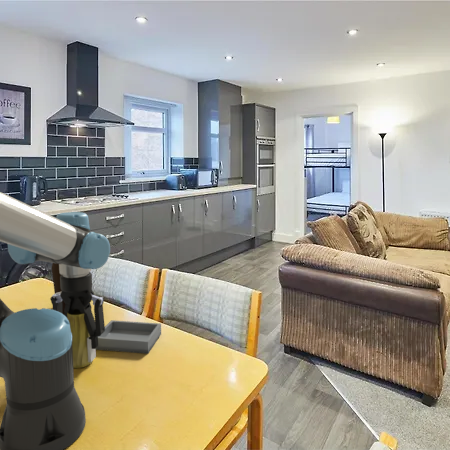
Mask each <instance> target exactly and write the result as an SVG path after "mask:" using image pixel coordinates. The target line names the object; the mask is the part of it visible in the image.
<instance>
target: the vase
mask: <svg viewBox="0 0 450 450" xmlns="http://www.w3.org/2000/svg"><path fill="white" fill-rule="evenodd" d="M67 319H68V321H69V323H70V329H71V333H72V350H73V369H82V368H85V367H87V366H89V365H91V364H92V363H93V361H94V360H93V361H92V362H88V347H87V338H88V337H89V336H90V335H89V332H88V329H87V326H86V323H85V321H84V314H81V313H80V310H78V309H74V312H73V314H72V315H71V314H69V313H67Z"/></svg>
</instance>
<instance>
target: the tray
mask: <svg viewBox="0 0 450 450" xmlns="http://www.w3.org/2000/svg"><path fill="white" fill-rule="evenodd" d="M161 336H162V323H158V322H157V323H156V322H145V321H144V322H143V321H128V320H127V321H126V320H116V319H115V320H114V319H113V320H110V321H108V323H107V324H105V332H103V333H102V334H101V335H100V336H98V347H97V348H96V350H97V351H108V352H109V351H110V352H111V351H112V352H122V353H137V354H148V355H149V353H150V352H151V350H152V349H153V347H154V346H155V344H157V343H156V342H157V341H158V340H159V338H160V337H161Z"/></svg>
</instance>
